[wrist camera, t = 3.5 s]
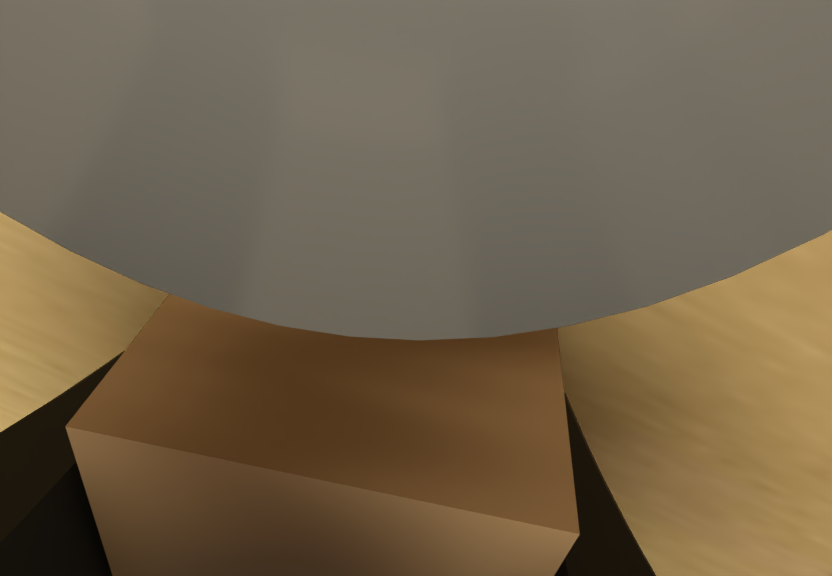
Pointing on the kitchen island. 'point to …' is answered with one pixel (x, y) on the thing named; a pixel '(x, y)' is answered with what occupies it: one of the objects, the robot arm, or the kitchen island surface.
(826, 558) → the kitchen island surface
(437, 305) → the cylinder
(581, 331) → the kitchen island surface
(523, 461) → the cube
